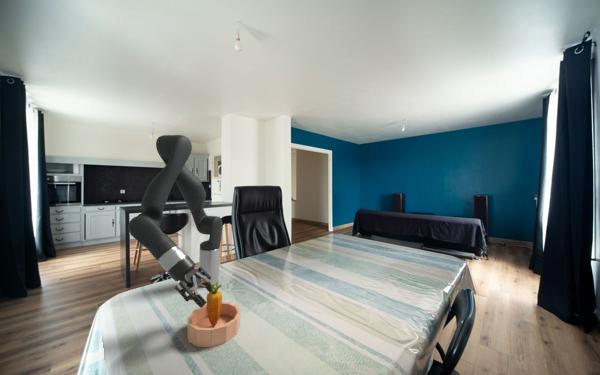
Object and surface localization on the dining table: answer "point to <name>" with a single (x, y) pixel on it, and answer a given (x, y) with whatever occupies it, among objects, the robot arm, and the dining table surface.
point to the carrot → (214, 304)
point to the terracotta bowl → (208, 335)
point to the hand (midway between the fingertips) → (209, 298)
